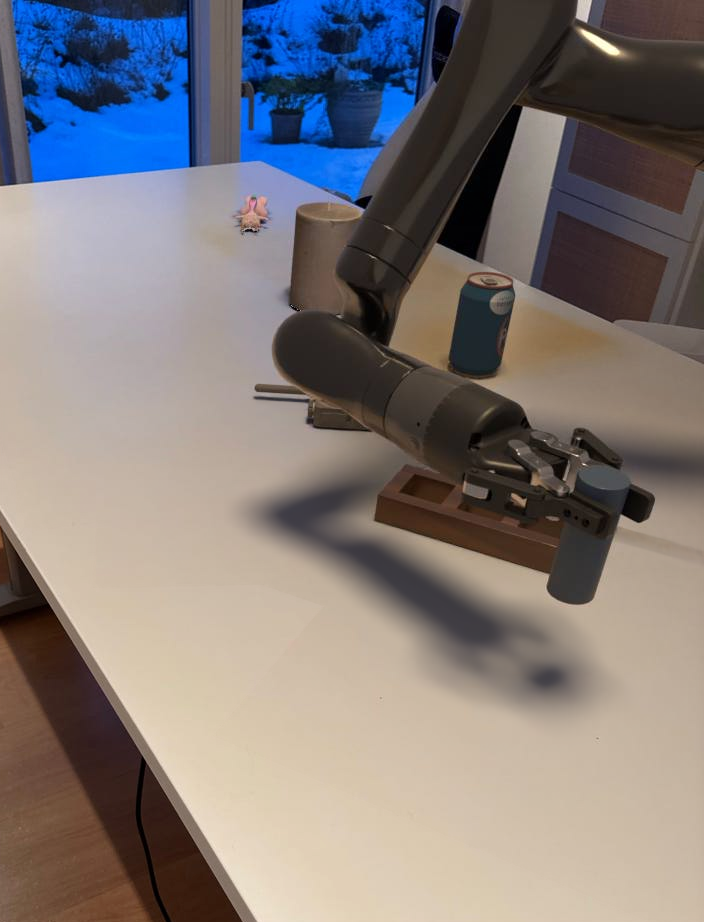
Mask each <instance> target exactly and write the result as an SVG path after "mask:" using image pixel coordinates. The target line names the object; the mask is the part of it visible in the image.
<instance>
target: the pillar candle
mask: <svg viewBox="0 0 704 922" xmlns="http://www.w3.org/2000/svg"><path fill="white" fill-rule="evenodd" d="M362 214H363V211H362V210H361V209H358V208H356V207H354V206H352V205H348V204H344V203H339V202H331V200H328V201H326V202H325V201H323V202H310V203H303V204H301V205H299V206H297V208H296V209H295V223H294V236H293V248H292V258H291V259H292V260H291V273H290V275H291V276H290V286H289V296H288V303H289V302H290V304H291V305H292V306H293V307H294V308H296V309H298V310H306V309H320V310H324V311H327V312H329V313H331V314H333V315H335V316H337V315H341V314H342V310H343V305H344V299H343V296H342V293H341V292H340V290H339V288H338V287H337V285H336V283H335V281H334V278H333V270H334V266H335V264H336V262H337V259H338V258H339V256H340V254H341V252H342V250H343V248H344V247H345V245H346V243H347V241H348V239H349V237H350V236H351V234H352V232H353V230H354V228H355V227H356V225H357V223H358V221H359V219H360V217H361V216H362ZM290 304H289V305H290ZM294 308H293V309H294Z"/></svg>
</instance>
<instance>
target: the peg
mask: <svg viewBox="0 0 704 922" xmlns="http://www.w3.org/2000/svg"><path fill="white" fill-rule="evenodd" d="M631 483H632V480H631V477H630V476H629V475H628V474H626V473H625V472H624V471H622V470H621V469H620V470H618V469H615V468H612V467H608V466H601V465H592V466H587V467H584V468H582V469H581V470H580V471H579V472H578V476H577V479H576V483H575V486H574V490H573V491H575V490H577V491H579V492H581V493H582V494H584V495H586V496H588V497H591V498H593V499H595V500H596V501H598V502H600V503H602V504H604V505H606V506H608V507H610V508H612V509H614V510H615V511H616V512H617V514H618V519H617V523H616V526H615V529H614V532H613V535H612V536H611V537H609V538H607V539H604V540H599V539H597V538H596V537H594V536H592V535H590V534H587V533H585V532H583V531H581V529H578V528H576V527H574V526H572V525H571V524H569V523H567V522H564V525H563V529H562V533H561V536H560V540H559V543H558V547H557V550H556V554H555V557H554V561H553V564H552V568H551V572H550V573H549V575H548V579H547V582H546V591H547V593H548V594H549V596H551V597H552V598H553V599H555V600H556V601H558V602H561V603H563V604H567V605H572V606H579V605H581V606H582V605H586V604H589V603H591V602H592V601H593V600H594V598H595V597H596V592H597V589H598V587H599V583H600V581H601V577H602V574H603V571H604V569H605V565H606V561H607V559H608V556H609V553H610V549H611V546H612V543H613V540H614V538H615V534H616V531H617V528H618V524H619V522H620V520H621V519H620V518H621V516H622V515H621V513H622V509H623V506H624V503H625V500H626V497H627V494H628V491H629V488H630V485H631Z"/></svg>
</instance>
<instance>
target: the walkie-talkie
mask: <svg viewBox="0 0 704 922" xmlns="http://www.w3.org/2000/svg"><path fill="white" fill-rule="evenodd" d="M254 391H255V392H256V393H265V394H266V393H268V394H280V395H281V394H282V395H283V394H284V395H298V396H300V395H301V396H307V397H309V400H308V405H307V418H309V419H311V418H313V422H312V423H313V424H312V425H313V426H315V427H317V428H327V429H328V428H329V429H330V428H331V429H343V430H359V431H370V430H369V429H368V428H366V427H365V426H363V425H362V424H361V423H359V422H358V421H357V420H355V419H354V418H353V417H352V416H350V415H349V414H348V413H346V412H345V411H343V410H342V409H334V408H330V407H327V406H325V405H323V404H321V403H320V402H318V401H317V400H315V399H313V398H312V397H310V396H309V395H307V394H305V393H304V392H302V391H301V390H299V389H298V388H296V387H294V386H293V385H285V384H271V383H270V384H269V383H256V384H255V385H254Z"/></svg>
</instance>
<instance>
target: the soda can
mask: <svg viewBox="0 0 704 922" xmlns="http://www.w3.org/2000/svg"><path fill="white" fill-rule="evenodd" d="M466 279H467V280H466V281H465V282H464V284H463V286H462V287H461V288H460V291H459V296H458V303H457V309H456V314H455V320H454V324H453V330H452V335H451V342H450V348H449V353H448V361H449V363H450V366H451V368H452V370H453V371H454V372H455V374H457V375H460V376H462V377H467V378H477V379H479V378H480V379H481V378H487V377H490V376H492V375H494V373H495V372H496V371H497V370H498V369H499V368H500V366H501V365H502V362H503V356H504V353H505V346H506V343H507V337H508V334H509V333H508V332H509V328H510V323H511V319H512V315H513V309H514V305H515V299H516V291H515V287H514V279H513V278H511V277H510V276H509V275H506V274H503V273H499V272H494V271H493V272H492V271H477V272H472V273H470V274H468V276H467V278H466Z"/></svg>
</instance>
